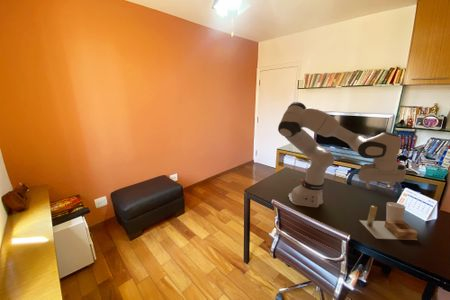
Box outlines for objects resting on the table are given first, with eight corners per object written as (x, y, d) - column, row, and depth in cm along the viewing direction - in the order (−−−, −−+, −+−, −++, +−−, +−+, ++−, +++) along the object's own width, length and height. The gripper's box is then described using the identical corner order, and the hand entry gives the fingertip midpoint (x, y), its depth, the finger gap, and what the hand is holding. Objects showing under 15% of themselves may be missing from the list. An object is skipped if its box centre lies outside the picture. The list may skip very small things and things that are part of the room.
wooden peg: (368, 226, 104) (373, 208, 100) (365, 223, 107) (369, 205, 103) (373, 227, 104) (378, 208, 100) (370, 223, 106) (375, 205, 103)
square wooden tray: (397, 238, 96) (399, 232, 95) (384, 226, 104) (385, 220, 103) (416, 239, 95) (418, 232, 94) (401, 226, 104) (403, 220, 103)
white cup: (381, 218, 112) (383, 202, 110) (393, 217, 112) (395, 201, 111) (394, 225, 104) (396, 208, 103) (407, 224, 104) (409, 207, 103)
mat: (376, 239, 96) (376, 238, 96) (359, 221, 109) (359, 220, 109) (417, 240, 95) (417, 239, 95) (395, 222, 108) (395, 221, 108)
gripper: (365, 166, 94) (360, 190, 98) (410, 166, 92) (403, 192, 96) (358, 161, 100) (353, 184, 104) (400, 162, 98) (394, 186, 102)
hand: (377, 188), depth 100 cm, fingers open, 8 cm apart
